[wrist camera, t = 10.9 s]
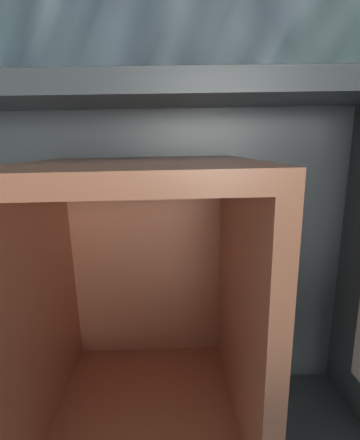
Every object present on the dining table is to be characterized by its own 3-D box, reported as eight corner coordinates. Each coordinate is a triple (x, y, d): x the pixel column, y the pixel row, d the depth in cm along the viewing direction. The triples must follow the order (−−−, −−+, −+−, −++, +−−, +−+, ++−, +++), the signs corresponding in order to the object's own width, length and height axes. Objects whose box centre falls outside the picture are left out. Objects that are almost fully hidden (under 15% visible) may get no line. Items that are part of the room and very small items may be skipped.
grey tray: (329, 372, 18) (387, 455, 13) (-25, 385, 18) (-99, 477, 13) (361, 90, 15) (457, 62, 10) (-84, 96, 14) (-219, 70, 9)
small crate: (227, 346, 16) (278, 528, 9) (76, 352, 16) (-11, 541, 8) (231, 155, 14) (306, 167, 6) (54, 158, 14) (-93, 175, 6)
